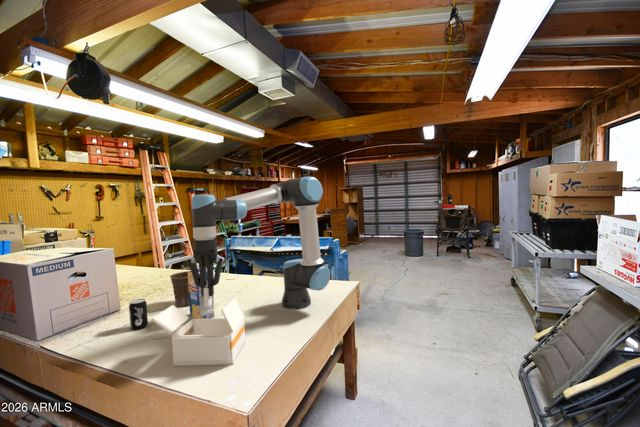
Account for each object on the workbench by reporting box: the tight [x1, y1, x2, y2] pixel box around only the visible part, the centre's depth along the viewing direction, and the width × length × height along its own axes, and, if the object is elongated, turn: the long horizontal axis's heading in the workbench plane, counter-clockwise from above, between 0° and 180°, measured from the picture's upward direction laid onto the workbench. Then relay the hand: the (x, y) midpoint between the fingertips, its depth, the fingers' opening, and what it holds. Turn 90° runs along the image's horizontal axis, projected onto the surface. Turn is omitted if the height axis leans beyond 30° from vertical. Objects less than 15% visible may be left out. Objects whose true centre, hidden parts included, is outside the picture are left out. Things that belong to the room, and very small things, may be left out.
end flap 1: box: [150, 304, 190, 335], centre depth 100 cm, size 1×12×8 cm
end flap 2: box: [221, 296, 245, 332], centre depth 99 cm, size 1×12×8 cm, turn 179°
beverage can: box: [128, 298, 149, 331], centre depth 125 cm, size 7×7×12 cm
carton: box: [171, 316, 246, 367], centre depth 100 cm, size 20×16×10 cm
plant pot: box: [169, 270, 190, 307], centre depth 154 cm, size 16×16×16 cm
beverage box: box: [187, 268, 215, 319], centre depth 134 cm, size 7×11×22 cm, turn 48°
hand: (208, 305), depth 99 cm, fingers closed
